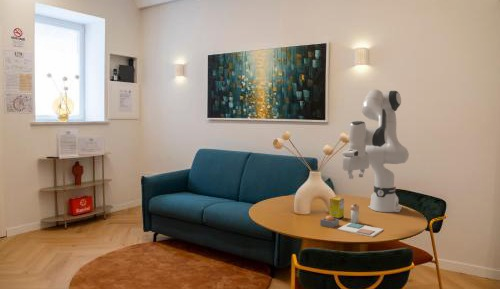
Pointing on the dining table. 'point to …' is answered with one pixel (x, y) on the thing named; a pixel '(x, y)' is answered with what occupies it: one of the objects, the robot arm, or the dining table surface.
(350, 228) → the picture sheet
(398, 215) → the dining table surface
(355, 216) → the cylinder
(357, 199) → the dining table surface
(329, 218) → the button
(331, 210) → the supplement box
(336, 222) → the button housing
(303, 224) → the dining table surface
